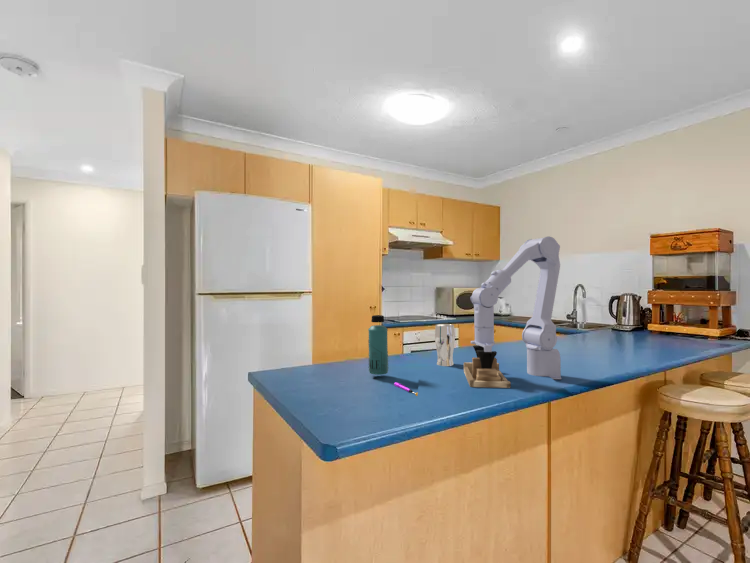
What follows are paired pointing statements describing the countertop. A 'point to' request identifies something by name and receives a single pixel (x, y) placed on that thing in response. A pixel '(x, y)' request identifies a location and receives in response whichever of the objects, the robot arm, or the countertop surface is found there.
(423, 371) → the countertop surface
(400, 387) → the pink paintbrush
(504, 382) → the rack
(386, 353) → the beverage bottle
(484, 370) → the offcut top
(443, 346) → the beer glass
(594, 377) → the countertop surface
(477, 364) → the tall board
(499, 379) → the offcut low
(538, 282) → the robot arm
